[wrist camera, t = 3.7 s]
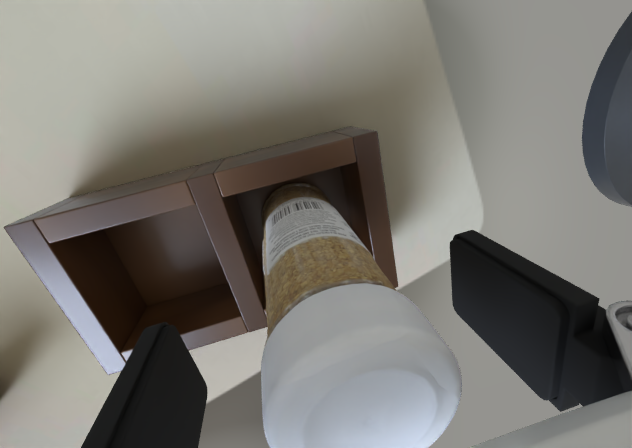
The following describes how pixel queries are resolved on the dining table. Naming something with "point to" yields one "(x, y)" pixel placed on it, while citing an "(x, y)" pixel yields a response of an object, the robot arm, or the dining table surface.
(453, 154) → the dining table surface
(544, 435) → the robot arm
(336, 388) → the sprinkles bottle
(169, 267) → the spice rack
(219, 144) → the dining table surface
